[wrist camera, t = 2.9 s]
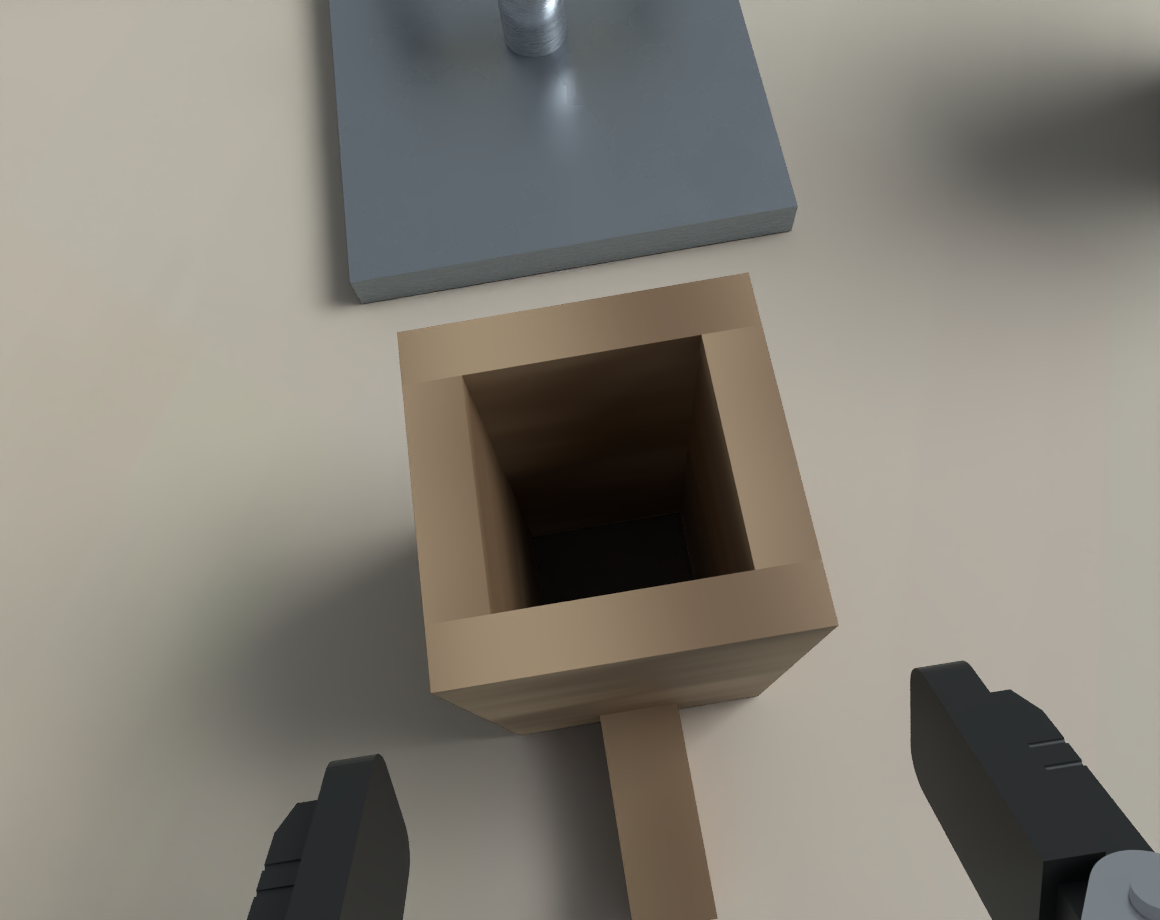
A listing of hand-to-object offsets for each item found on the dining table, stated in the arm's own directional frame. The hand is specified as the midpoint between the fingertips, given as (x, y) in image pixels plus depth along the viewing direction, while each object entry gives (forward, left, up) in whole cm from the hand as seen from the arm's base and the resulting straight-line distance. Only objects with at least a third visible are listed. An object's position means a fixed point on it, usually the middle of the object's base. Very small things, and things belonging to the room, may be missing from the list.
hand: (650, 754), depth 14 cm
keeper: (-12, +18, -9) cm, 24 cm away
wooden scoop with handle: (-1, +2, -9) cm, 9 cm away
